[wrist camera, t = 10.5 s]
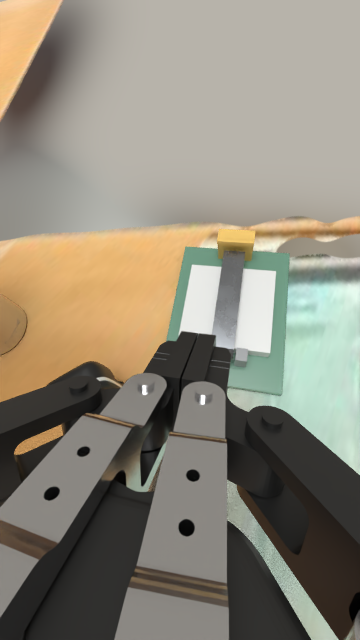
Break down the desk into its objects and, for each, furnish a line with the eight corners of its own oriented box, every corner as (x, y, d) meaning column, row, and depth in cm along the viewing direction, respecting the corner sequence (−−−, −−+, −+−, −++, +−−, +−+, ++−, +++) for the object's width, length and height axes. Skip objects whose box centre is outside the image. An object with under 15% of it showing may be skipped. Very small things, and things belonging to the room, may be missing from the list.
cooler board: (280, 395, 38) (290, 387, 32) (161, 376, 41) (150, 366, 35) (287, 258, 45) (297, 231, 40) (186, 251, 48) (181, 225, 43)
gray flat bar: (232, 361, 37) (232, 358, 36) (209, 358, 38) (208, 355, 37) (244, 256, 43) (245, 250, 41) (224, 254, 43) (224, 249, 42)
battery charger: (124, 374, 42) (91, 351, 31) (136, 398, 40) (105, 382, 30) (81, 399, 41) (32, 385, 31) (90, 424, 40) (43, 418, 29)
